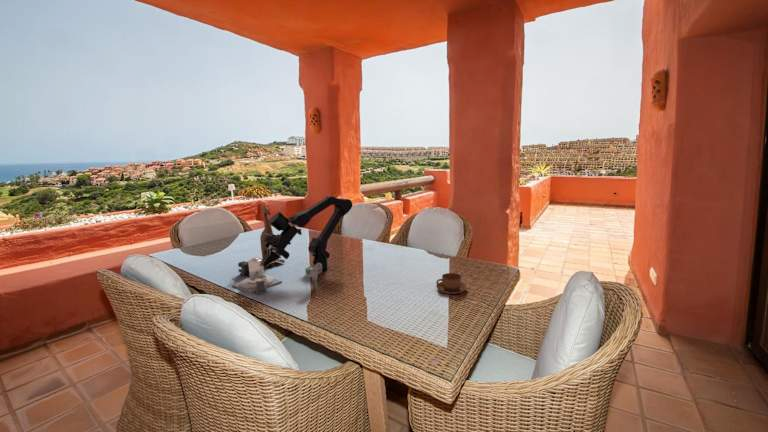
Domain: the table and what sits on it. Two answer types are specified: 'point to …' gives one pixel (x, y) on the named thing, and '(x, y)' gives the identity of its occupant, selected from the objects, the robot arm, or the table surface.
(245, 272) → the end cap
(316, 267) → the mechanical component
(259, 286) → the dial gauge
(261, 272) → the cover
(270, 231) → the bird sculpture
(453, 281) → the cup and saucer
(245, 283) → the turntable
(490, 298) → the table surface
